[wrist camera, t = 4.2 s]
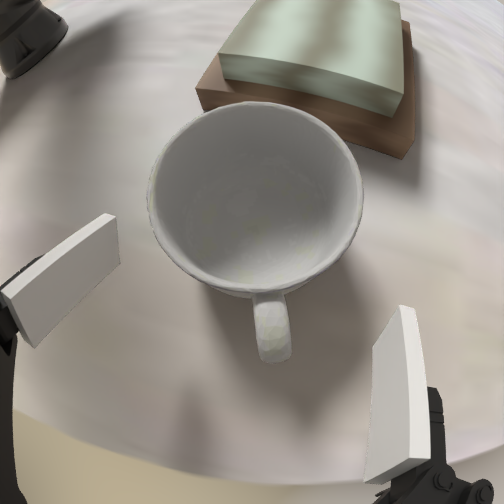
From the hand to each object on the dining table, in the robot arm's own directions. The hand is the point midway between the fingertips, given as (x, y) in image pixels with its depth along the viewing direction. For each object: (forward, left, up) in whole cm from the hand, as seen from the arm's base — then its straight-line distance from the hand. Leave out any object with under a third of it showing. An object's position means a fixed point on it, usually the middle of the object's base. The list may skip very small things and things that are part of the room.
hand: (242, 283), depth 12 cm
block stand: (-1, +24, -8) cm, 26 cm away
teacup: (-1, +3, -8) cm, 9 cm away
